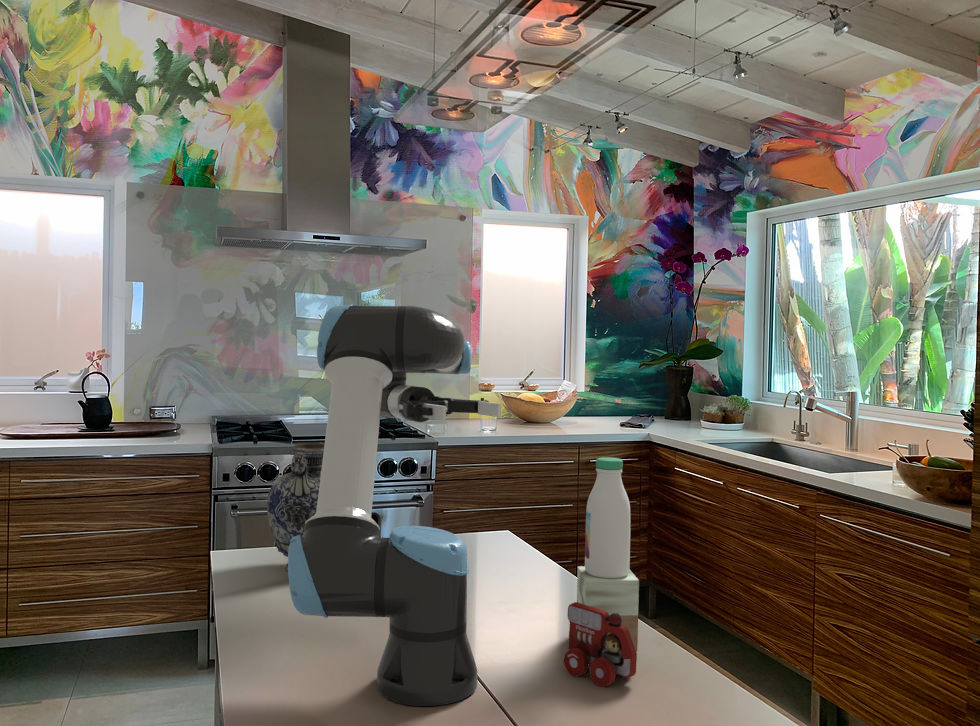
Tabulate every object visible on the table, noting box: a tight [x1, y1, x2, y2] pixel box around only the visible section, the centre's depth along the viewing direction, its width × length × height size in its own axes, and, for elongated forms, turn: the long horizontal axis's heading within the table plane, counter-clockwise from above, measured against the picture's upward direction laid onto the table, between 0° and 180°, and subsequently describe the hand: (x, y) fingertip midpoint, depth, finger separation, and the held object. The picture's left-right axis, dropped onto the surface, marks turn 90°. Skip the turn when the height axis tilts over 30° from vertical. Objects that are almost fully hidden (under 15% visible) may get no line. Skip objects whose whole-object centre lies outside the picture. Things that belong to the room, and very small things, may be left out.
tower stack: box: [576, 565, 640, 651], centre depth 142 cm, size 8×9×12 cm
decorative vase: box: [266, 442, 325, 573], centre depth 183 cm, size 21×19×28 cm
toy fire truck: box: [563, 601, 638, 687], centre depth 128 cm, size 7×12×10 cm, turn 47°
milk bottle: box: [584, 456, 631, 578], centre depth 142 cm, size 8×8×20 cm
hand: (472, 411), depth 160 cm, fingers open, 13 cm apart
